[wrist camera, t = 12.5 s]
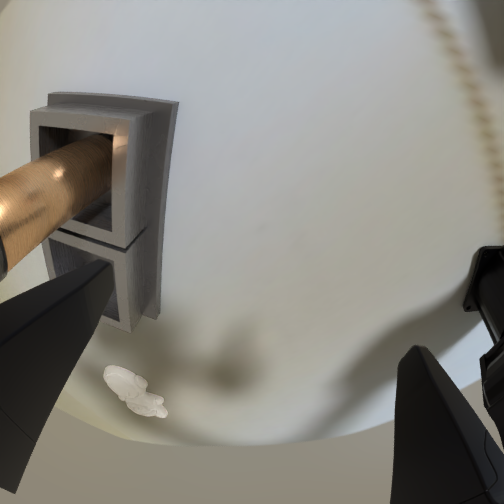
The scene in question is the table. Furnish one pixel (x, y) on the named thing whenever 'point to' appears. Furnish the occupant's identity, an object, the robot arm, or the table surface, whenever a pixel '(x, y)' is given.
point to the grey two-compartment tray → (114, 194)
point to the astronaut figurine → (134, 392)
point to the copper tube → (50, 195)
